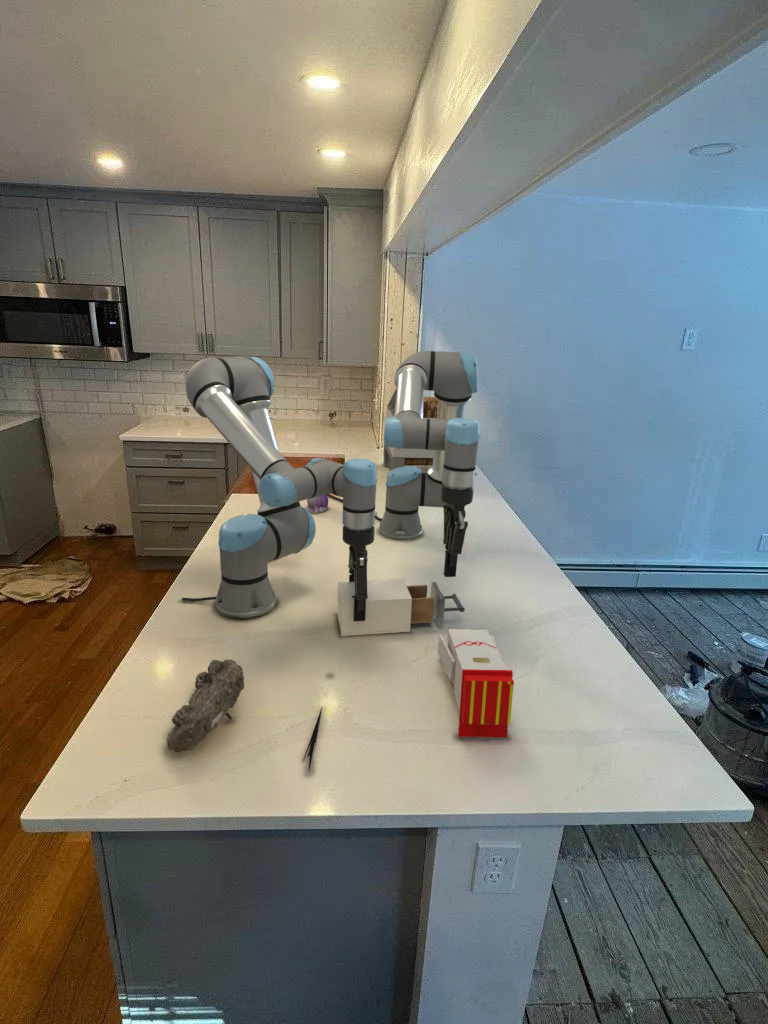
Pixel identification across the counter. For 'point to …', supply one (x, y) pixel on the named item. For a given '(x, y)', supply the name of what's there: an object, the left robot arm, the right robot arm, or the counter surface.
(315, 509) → the figurine
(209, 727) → the fossil
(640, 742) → the counter surface
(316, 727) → the feather
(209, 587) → the counter surface
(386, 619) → the cabinet
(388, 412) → the transformer
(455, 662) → the toy
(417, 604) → the drawer
